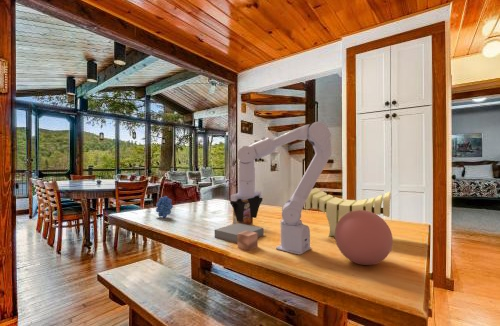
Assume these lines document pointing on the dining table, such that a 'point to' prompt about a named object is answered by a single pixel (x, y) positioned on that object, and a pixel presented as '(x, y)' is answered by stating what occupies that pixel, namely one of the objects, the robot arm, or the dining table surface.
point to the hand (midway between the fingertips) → (246, 219)
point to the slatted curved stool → (345, 206)
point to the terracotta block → (247, 240)
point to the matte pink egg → (363, 237)
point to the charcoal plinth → (236, 231)
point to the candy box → (244, 214)
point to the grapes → (164, 206)
